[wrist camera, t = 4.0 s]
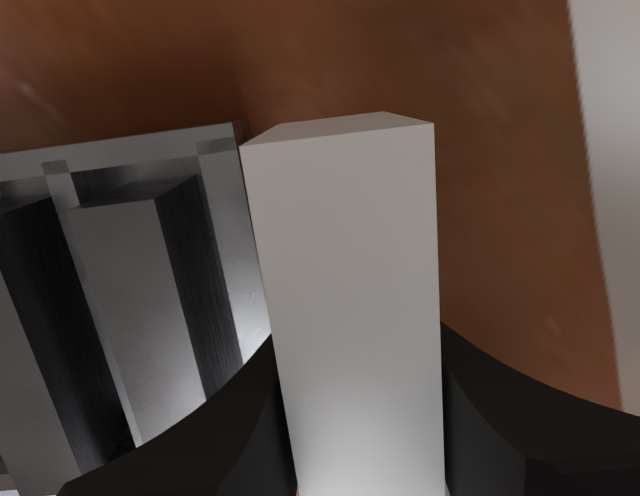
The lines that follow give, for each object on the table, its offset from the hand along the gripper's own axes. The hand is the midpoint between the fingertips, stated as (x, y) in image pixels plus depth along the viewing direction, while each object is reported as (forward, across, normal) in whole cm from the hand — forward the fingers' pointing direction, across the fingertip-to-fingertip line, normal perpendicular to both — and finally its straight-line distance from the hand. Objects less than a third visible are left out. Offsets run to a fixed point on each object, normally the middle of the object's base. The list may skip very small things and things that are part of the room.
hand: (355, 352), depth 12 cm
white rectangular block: (+2, 0, 0) cm, 3 cm away
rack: (+9, +14, +2) cm, 17 cm away
